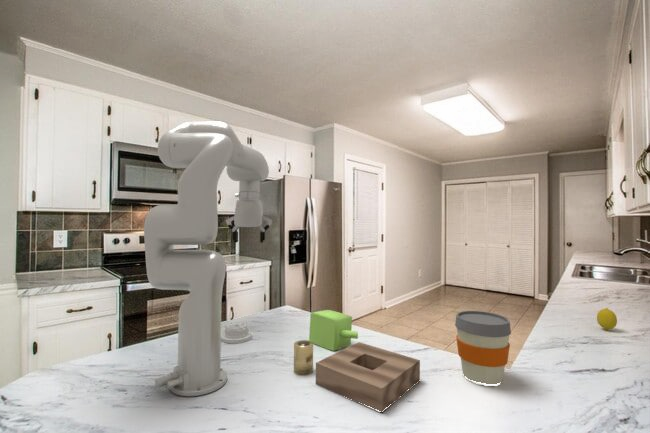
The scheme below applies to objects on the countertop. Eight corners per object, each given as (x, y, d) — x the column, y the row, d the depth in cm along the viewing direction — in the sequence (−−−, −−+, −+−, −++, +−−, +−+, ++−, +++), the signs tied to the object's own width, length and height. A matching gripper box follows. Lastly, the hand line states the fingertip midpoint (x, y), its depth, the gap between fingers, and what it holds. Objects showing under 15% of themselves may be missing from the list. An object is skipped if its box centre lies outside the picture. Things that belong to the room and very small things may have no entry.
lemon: (593, 328, 119) (593, 306, 119) (603, 327, 121) (603, 305, 121) (610, 333, 114) (610, 310, 114) (620, 332, 116) (620, 309, 116)
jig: (381, 413, 65) (381, 388, 65) (315, 383, 77) (315, 362, 77) (419, 380, 79) (419, 360, 79) (358, 359, 91) (358, 341, 91)
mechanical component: (216, 344, 102) (247, 344, 102) (216, 330, 102) (247, 330, 102) (226, 333, 112) (255, 333, 112) (226, 320, 112) (255, 321, 112)
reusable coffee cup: (511, 373, 83) (511, 315, 83) (510, 396, 72) (510, 328, 73) (459, 362, 89) (459, 308, 90) (451, 381, 79) (451, 319, 79)
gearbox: (365, 348, 100) (367, 317, 101) (345, 356, 93) (347, 323, 93) (323, 333, 113) (325, 305, 113) (302, 339, 106) (304, 310, 106)
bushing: (303, 377, 80) (303, 348, 80) (289, 371, 84) (289, 343, 84) (317, 370, 84) (317, 343, 84) (303, 364, 87) (303, 338, 87)
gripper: (223, 195, 118) (222, 243, 118) (271, 196, 118) (270, 243, 118) (229, 197, 125) (228, 241, 125) (273, 197, 126) (273, 242, 126)
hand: (248, 242), depth 122 cm, fingers open, 9 cm apart
